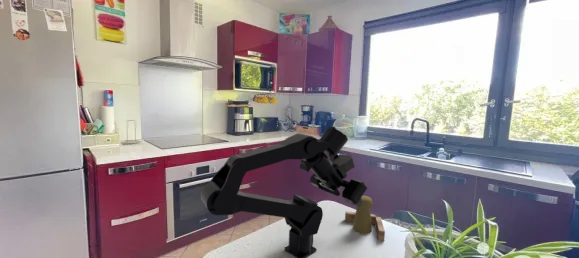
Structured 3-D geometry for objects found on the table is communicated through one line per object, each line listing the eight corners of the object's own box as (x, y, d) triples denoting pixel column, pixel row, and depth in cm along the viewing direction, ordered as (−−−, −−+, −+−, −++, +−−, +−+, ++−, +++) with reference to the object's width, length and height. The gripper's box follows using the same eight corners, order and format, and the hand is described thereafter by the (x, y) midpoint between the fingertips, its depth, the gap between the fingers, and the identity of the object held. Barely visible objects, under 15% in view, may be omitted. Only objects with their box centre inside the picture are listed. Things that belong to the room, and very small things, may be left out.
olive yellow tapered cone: (370, 236, 81) (372, 201, 80) (350, 231, 84) (352, 198, 82) (373, 227, 87) (375, 195, 85) (354, 223, 89) (356, 192, 88)
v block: (381, 242, 78) (382, 232, 77) (342, 220, 91) (343, 211, 91) (398, 235, 82) (399, 226, 82) (359, 215, 96) (359, 207, 95)
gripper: (364, 152, 68) (388, 187, 75) (319, 142, 83) (342, 172, 90) (340, 186, 64) (368, 220, 71) (297, 168, 80) (323, 197, 87)
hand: (349, 199), depth 80 cm, fingers open, 9 cm apart
